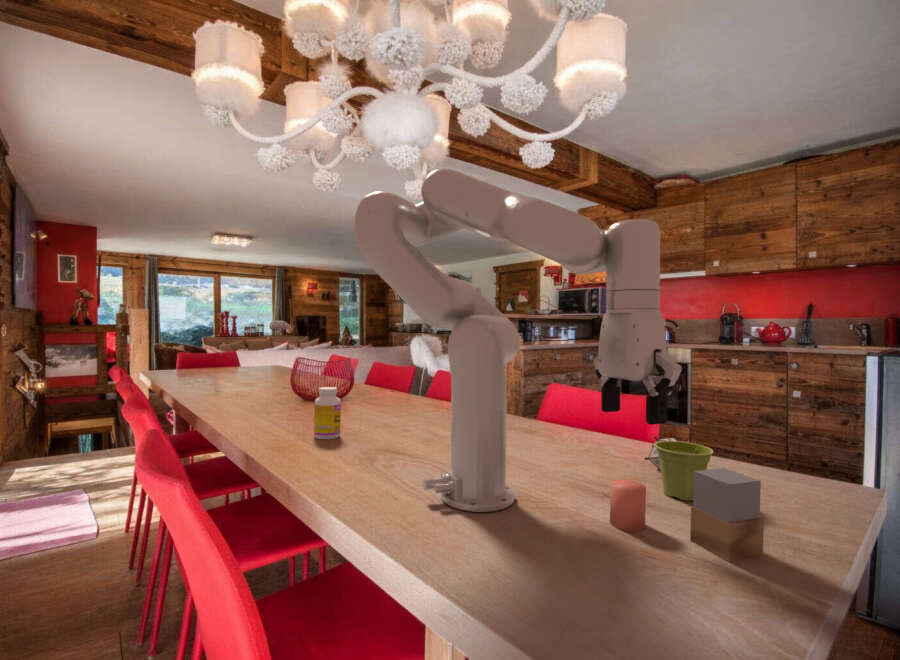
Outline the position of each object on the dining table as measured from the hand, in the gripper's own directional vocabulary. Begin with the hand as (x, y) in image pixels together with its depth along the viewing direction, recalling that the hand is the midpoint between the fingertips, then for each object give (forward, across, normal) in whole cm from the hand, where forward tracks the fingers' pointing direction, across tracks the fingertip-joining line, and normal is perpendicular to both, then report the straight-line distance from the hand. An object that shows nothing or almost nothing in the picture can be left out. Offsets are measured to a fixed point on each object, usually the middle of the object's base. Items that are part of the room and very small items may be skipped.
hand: (632, 417), depth 68 cm
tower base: (+17, +10, +8) cm, 21 cm away
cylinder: (+16, 0, 0) cm, 16 cm away
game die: (+17, -16, +24) cm, 33 cm away
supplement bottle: (+15, -66, -40) cm, 79 cm away
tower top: (+12, +10, +8) cm, 17 cm away
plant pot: (+17, -7, +18) cm, 25 cm away
